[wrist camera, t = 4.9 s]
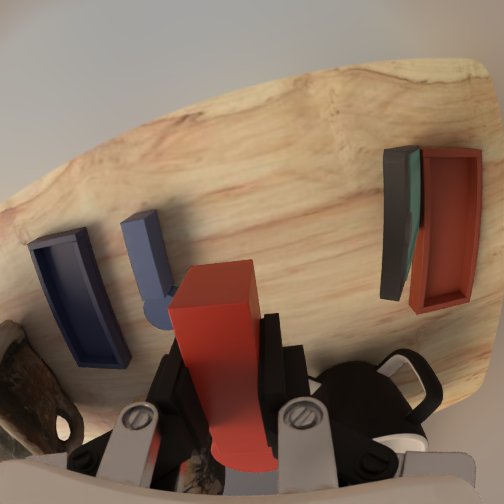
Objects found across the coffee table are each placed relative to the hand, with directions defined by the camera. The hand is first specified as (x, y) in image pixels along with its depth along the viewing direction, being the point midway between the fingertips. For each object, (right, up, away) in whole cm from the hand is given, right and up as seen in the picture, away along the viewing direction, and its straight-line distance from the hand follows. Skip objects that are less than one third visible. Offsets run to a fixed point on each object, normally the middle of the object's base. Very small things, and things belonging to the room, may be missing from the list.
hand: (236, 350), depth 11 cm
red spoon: (0, -2, +1) cm, 3 cm away
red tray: (+19, +6, +14) cm, 24 cm away
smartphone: (+10, +7, +7) cm, 14 cm away
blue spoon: (-8, +2, +16) cm, 18 cm away
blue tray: (-17, -1, +18) cm, 25 cm away
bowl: (-33, -15, +23) cm, 43 cm away
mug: (+12, -12, +21) cm, 27 cm away
